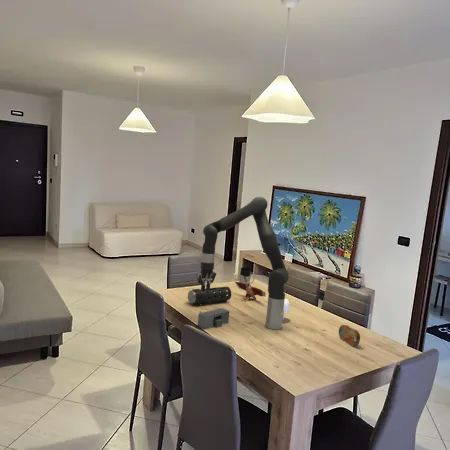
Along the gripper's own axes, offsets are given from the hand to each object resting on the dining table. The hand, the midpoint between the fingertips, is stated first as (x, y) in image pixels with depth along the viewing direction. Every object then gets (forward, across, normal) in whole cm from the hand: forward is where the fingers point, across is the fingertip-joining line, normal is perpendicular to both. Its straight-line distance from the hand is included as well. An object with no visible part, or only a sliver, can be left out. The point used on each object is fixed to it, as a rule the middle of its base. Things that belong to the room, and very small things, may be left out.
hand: (205, 290), depth 232 cm
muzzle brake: (+18, -24, -20) cm, 36 cm away
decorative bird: (+17, -52, -11) cm, 56 cm away
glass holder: (+17, -72, -31) cm, 80 cm away
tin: (+17, -44, +67) cm, 82 cm away
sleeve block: (+17, 0, +8) cm, 19 cm away
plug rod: (+17, -1, +5) cm, 18 cm away
